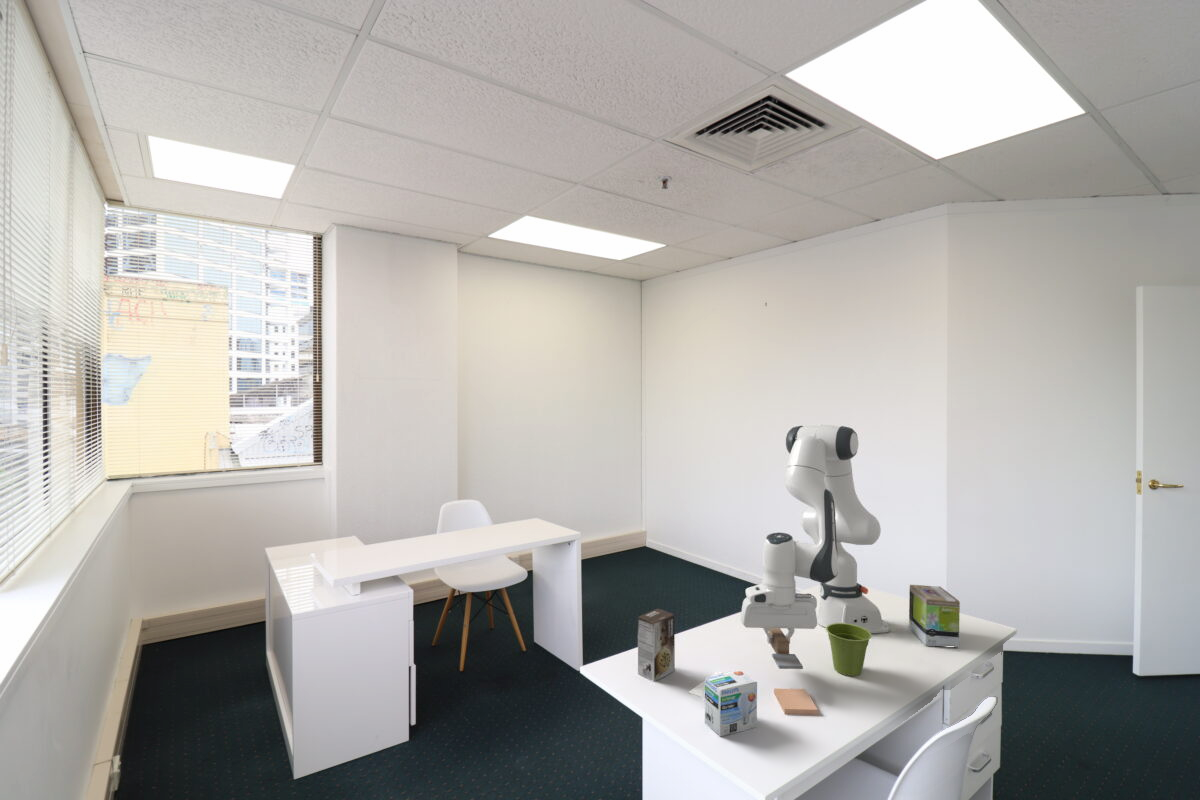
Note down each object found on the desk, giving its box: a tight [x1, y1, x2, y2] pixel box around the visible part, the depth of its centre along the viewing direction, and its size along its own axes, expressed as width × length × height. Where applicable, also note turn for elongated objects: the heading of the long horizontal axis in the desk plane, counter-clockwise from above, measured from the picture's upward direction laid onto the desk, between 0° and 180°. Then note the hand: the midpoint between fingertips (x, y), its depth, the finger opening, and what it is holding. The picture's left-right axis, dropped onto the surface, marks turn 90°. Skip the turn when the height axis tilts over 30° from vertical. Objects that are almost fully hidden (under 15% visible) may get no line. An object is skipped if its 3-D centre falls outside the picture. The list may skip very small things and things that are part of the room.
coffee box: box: [637, 608, 676, 682], centre depth 162 cm, size 9×6×16 cm
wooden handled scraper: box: [768, 628, 804, 670], centre depth 158 cm, size 17×6×4 cm, turn 178°
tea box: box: [908, 584, 961, 648], centre depth 186 cm, size 15×10×15 cm
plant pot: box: [825, 623, 873, 677], centre depth 164 cm, size 12×12×11 cm
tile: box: [773, 687, 819, 716], centre depth 146 cm, size 8×2×10 cm
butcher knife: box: [687, 670, 724, 700], centre depth 155 cm, size 5×15×1 cm, turn 138°
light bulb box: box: [704, 669, 758, 737], centre depth 137 cm, size 11×7×11 cm, turn 114°
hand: (778, 642), depth 162 cm, fingers closed on wooden handled scraper, 3 cm apart
